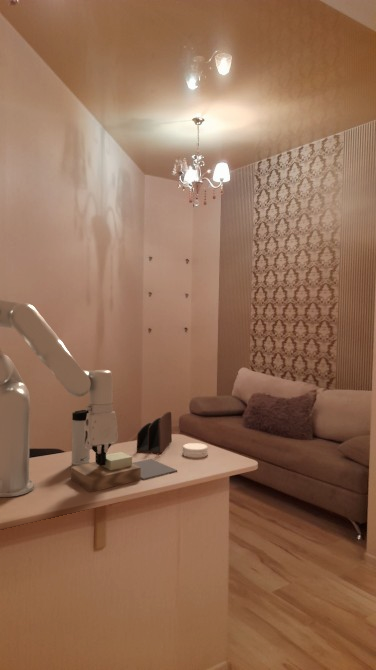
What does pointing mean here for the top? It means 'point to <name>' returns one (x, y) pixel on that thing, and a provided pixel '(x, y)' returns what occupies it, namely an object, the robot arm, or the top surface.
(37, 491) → the top surface
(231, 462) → the top surface
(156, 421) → the letter holder
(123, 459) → the tile
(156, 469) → the mat
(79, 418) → the travel mug
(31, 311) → the robot arm
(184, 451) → the white short cylinder
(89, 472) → the riser
